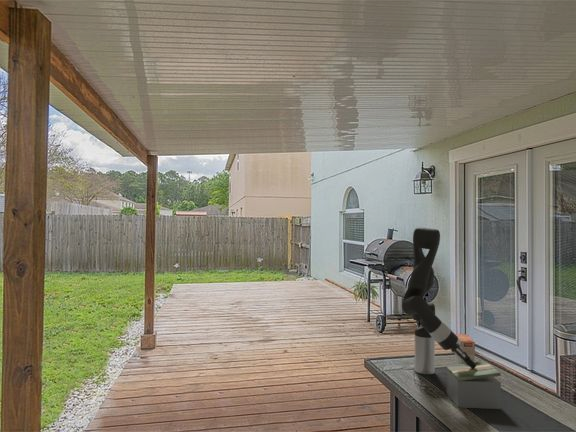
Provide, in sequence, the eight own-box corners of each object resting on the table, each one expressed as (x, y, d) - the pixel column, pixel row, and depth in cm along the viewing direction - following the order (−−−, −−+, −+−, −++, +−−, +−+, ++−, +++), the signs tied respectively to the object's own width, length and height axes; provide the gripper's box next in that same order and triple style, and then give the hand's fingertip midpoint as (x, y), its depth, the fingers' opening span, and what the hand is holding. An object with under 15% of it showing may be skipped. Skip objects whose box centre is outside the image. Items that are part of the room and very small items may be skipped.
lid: (446, 368, 177) (445, 365, 177) (485, 363, 176) (484, 360, 176) (458, 381, 162) (457, 377, 162) (500, 375, 161) (500, 372, 161)
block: (446, 393, 176) (446, 369, 177) (486, 395, 175) (486, 370, 176) (458, 407, 162) (458, 380, 163) (500, 409, 161) (500, 382, 162)
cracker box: (475, 391, 179) (475, 341, 180) (460, 390, 180) (460, 340, 181) (468, 380, 193) (468, 334, 194) (454, 379, 194) (454, 333, 195)
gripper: (455, 332, 164) (487, 365, 163) (444, 325, 177) (474, 355, 176) (441, 345, 164) (473, 379, 163) (431, 337, 177) (461, 368, 176)
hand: (474, 367), depth 169 cm, fingers closed
